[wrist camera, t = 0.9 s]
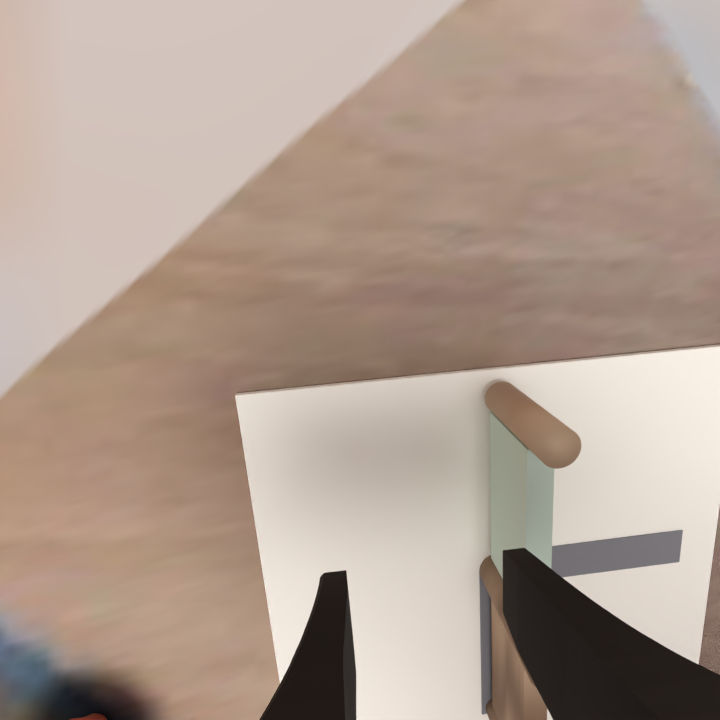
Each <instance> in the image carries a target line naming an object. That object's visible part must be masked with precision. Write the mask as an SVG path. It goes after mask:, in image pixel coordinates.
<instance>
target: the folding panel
mask: <svg viewBox="0 0 720 720" xmlns="http://www.w3.org/2000/svg"><path fill="white" fill-rule="evenodd" d="M485 403H486V405H487V407H488V408H489V409H490V410H491V411H492V412H490V506H491V559H492V560H493V562H494V564H495V566H496V568H497V570H498V572H499V573H500V575H501V577H502V579H503V550H509V549H517V548H525V549H527V550H528V551H529V552H531V553H532V554H533V555H534V556H536V557H537V558H538V559H539V560H541V561H542V562H543V563H544V564H546V565H547V566H548V567H550V568H551V564H552V530H553V497H554V468H555V469H559V468H564V467H567V466H569V465H570V464H572V463H573V462H574V461H575V460H576V459H577V457H578V456H579V454H580V451H581V440H580V437H579V436H578V434H577V433H576V432H574V431H573V430H572V429H570V428H569V427H568V426H566V425H565V424H564V423H562V422H561V421H560V420H559V419H557V418H556V417H555V416H553V415H552V414H551V413H549V412H548V411H547V410H545V409H544V408H543V407H541V406H540V405H539V404H537V403H536V402H535V401H533V400H532V399H531V398H529V397H528V396H527V395H525V394H524V393H523V392H521V391H520V390H519V389H517V388H516V387H515V386H513V385H512V384H511V383H509V382H504V381H501V382H497V383H495V384H493V385H492V386H490V387H489V389H488V390H487V392H486V395H485Z"/></svg>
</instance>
